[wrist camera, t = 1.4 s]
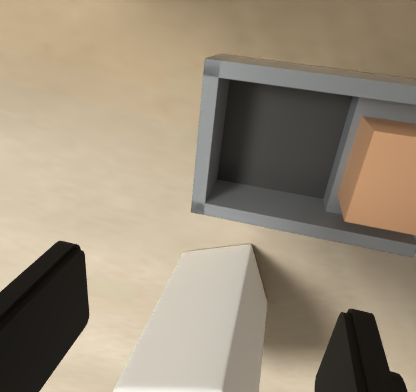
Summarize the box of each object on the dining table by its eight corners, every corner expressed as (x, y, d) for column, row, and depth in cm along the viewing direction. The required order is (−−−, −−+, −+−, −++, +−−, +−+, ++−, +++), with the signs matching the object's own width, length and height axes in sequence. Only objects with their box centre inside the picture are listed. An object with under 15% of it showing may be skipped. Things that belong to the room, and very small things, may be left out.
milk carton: (268, 301, 34) (243, 555, 18) (202, 305, 37) (126, 534, 20) (252, 242, 32) (205, 473, 15) (182, 250, 34) (76, 460, 17)
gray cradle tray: (220, 53, 25) (204, 58, 21) (641, 107, 21) (731, 127, 17) (205, 186, 30) (191, 212, 26) (545, 250, 26) (595, 294, 22)
